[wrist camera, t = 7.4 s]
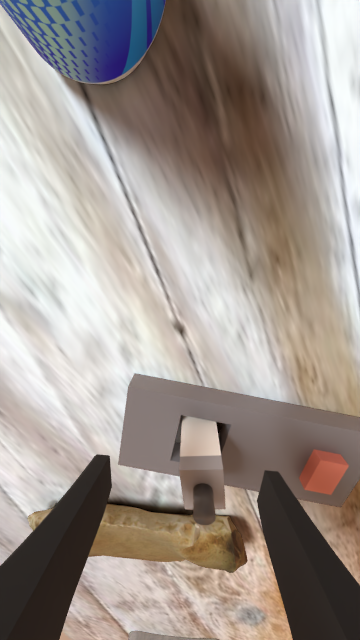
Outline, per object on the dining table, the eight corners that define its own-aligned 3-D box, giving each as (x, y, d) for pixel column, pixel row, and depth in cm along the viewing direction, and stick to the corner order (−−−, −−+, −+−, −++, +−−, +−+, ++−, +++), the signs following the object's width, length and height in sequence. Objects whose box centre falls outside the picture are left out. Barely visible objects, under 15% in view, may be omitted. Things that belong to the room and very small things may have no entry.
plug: (213, 406, 19) (227, 495, 12) (215, 439, 21) (229, 538, 13) (182, 407, 20) (177, 496, 12) (186, 439, 21) (184, 537, 14)
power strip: (367, 418, 19) (398, 447, 16) (327, 485, 22) (348, 520, 19) (134, 373, 19) (124, 394, 16) (124, 446, 22) (114, 475, 19)
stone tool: (248, 497, 22) (31, 482, 24) (259, 551, 19) (1, 530, 20) (237, 543, 27) (58, 528, 29) (244, 593, 24) (38, 573, 25)
